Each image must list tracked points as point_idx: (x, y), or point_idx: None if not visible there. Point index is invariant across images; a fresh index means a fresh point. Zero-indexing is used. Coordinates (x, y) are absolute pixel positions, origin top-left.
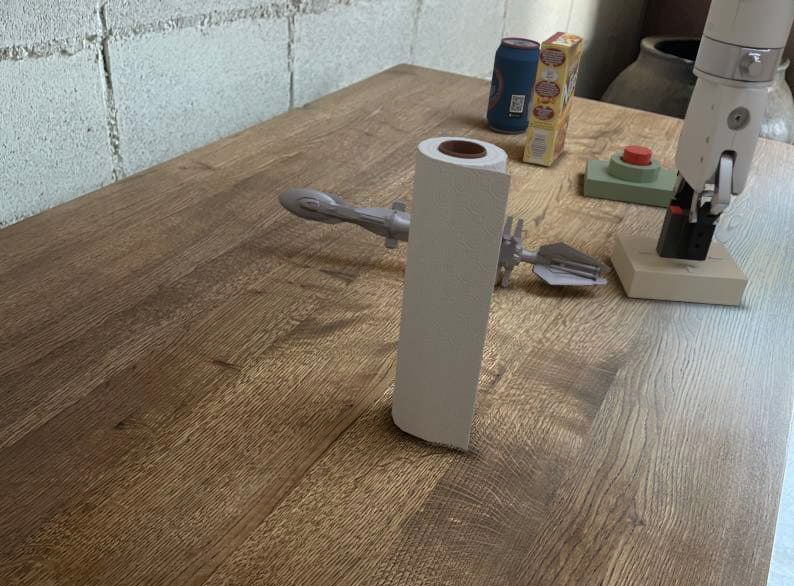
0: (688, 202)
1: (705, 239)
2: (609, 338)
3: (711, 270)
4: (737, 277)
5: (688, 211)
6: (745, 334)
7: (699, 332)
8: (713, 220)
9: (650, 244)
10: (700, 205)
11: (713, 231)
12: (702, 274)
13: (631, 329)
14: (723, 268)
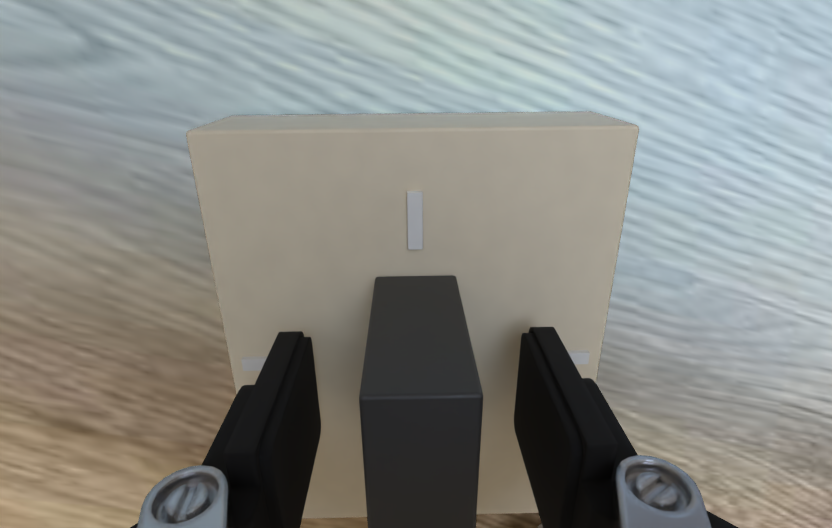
0: (268, 511)
1: (613, 423)
2: (773, 508)
3: (551, 271)
4: (620, 174)
5: (407, 524)
6: (809, 156)
7: (773, 302)
8: (716, 525)
9: (328, 438)
10: (261, 442)
11: (600, 414)
12: (597, 317)
13: (734, 461)
14: (524, 212)
